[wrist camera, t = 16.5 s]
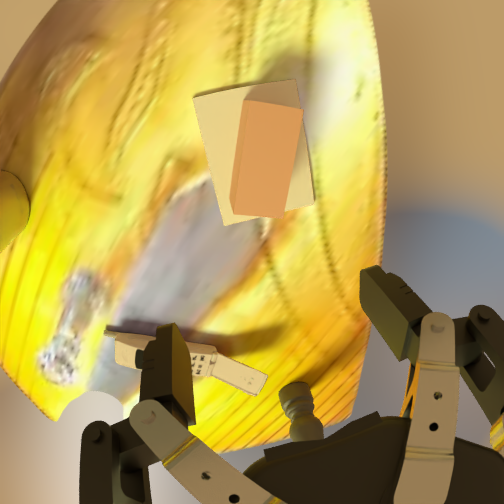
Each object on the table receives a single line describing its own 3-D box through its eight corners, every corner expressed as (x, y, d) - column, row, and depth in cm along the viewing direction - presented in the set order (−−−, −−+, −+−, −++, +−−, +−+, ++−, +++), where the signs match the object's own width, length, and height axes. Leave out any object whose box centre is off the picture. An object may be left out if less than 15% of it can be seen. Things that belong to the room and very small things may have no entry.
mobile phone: (258, 397, 44) (99, 378, 37) (252, 370, 49) (105, 350, 42) (270, 374, 42) (96, 352, 35) (263, 346, 47) (105, 324, 40)
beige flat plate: (224, 224, 35) (224, 225, 35) (192, 98, 28) (192, 98, 27) (313, 203, 36) (314, 204, 35) (294, 79, 28) (295, 78, 28)
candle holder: (304, 398, 56) (339, 503, 35) (275, 400, 55) (305, 511, 33) (312, 380, 54) (354, 493, 32) (282, 383, 52) (318, 503, 31)
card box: (242, 100, 28) (250, 100, 24) (289, 107, 29) (303, 109, 25) (228, 197, 33) (233, 214, 29) (272, 202, 34) (282, 218, 30)
